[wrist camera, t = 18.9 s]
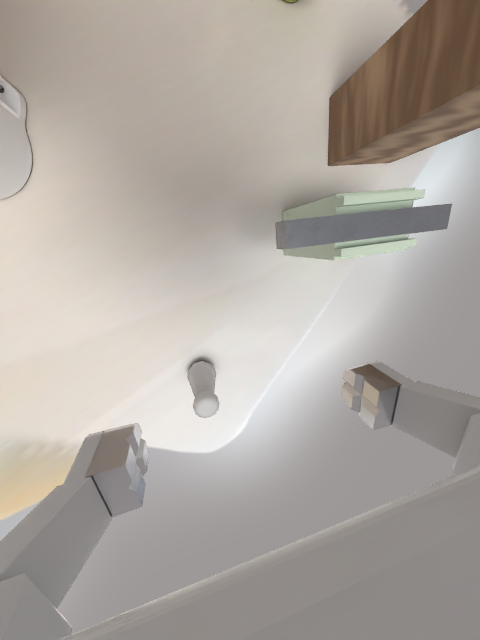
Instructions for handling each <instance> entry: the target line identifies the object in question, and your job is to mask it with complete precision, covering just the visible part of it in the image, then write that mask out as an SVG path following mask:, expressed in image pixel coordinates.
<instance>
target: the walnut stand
mask: <svg viewBox="0 0 480 640" xmlns="http://www.w3.org/2000/svg"><path fill="white" fill-rule="evenodd" d="M477 128H480V0H428V1H427V2H426V3H425V4H424V5H423V6H422V7H421V8H420V9H419V10H418V11H417V12H416V13H415V14H414V15H413V16H412V17H411V18H410V19H409V20H408V21H407V22H406V23H405V24H404V25H403V26H402V27H401V28H400V29H399V30H398V31H397V32H396V33H395V34H394V35H393V36H392V37H391V38H390V39H389V40H388V41H387V42H386V43H385V44H384V45H383V46H382V47H381V48H380V49H379V50H378V51H377V52H376V53H375V54H373V55H372V56H371V57H370V58H369V59H368V60H367V61H366V62H365V63H364V64H363V65H362V66H361V67H360V68H359V69H358V70H357V71H356V72H355V73H354V74H353V75H352V76H351V77H350V78H349V79H348V80H347V81H346V82H345V83H344V84H343V85H342V86H341V87H340V88H339V89H338V90H337V91H336V92H335V93H334V94H333V95H332V96H331V97H330V106H329V144H328V166H338V165H357V164H376V163H391V162H393V161H396V160H398V159H401V158H403V157H406V156H409V155H411V154H414V153H416V152H419V151H421V150H424V149H426V148H429V147H432V146H434V145H437V144H439V143H442V142H444V141H447V140H449V139H452V138H454V137H457V136H459V135H462V134H465V133H467V132H470V131H472V130H475V129H477Z"/></svg>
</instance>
